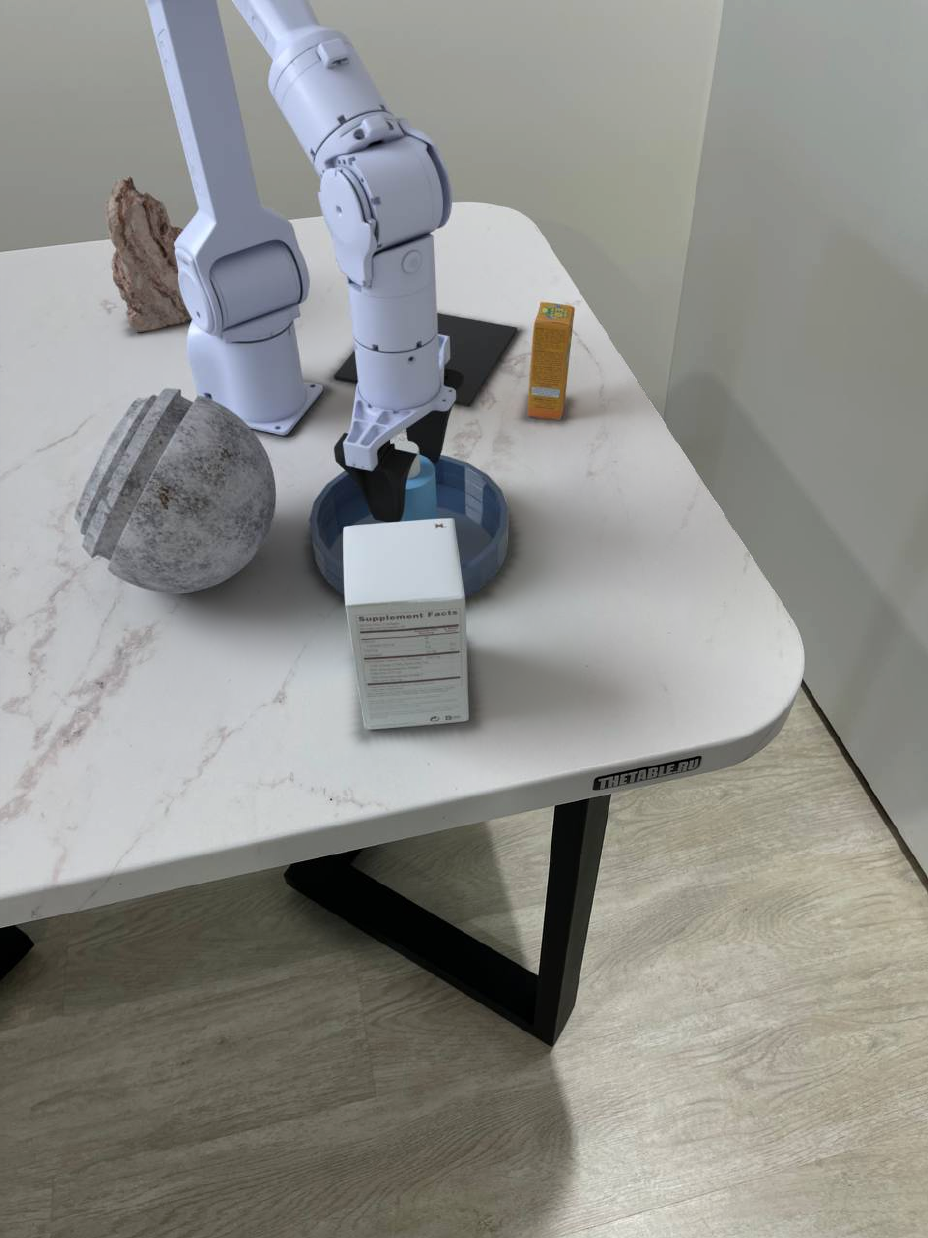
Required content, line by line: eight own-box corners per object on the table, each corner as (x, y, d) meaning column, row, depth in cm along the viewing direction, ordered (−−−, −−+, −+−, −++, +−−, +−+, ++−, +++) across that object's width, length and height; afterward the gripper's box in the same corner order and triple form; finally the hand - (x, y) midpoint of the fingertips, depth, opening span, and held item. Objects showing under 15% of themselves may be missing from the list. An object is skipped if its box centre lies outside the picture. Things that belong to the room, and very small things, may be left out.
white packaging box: (360, 652, 74) (341, 522, 65) (461, 644, 74) (457, 513, 65) (361, 733, 69) (341, 605, 60) (470, 725, 69) (467, 595, 60)
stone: (94, 202, 93) (204, 191, 95) (87, 163, 97) (192, 153, 100) (125, 337, 104) (223, 324, 107) (117, 296, 109) (211, 285, 111)
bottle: (375, 550, 81) (364, 460, 74) (396, 516, 84) (388, 426, 77) (426, 563, 80) (420, 473, 73) (446, 527, 83) (442, 437, 76)
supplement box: (563, 421, 93) (570, 323, 85) (526, 417, 93) (529, 320, 86) (568, 400, 95) (575, 303, 88) (532, 397, 95) (535, 300, 88)
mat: (334, 379, 98) (333, 375, 98) (391, 307, 107) (391, 304, 107) (469, 406, 95) (469, 403, 94) (517, 330, 103) (517, 327, 103)
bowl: (280, 583, 79) (274, 555, 77) (363, 464, 89) (360, 436, 87) (467, 633, 75) (466, 605, 73) (533, 502, 85) (534, 474, 83)
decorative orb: (145, 497, 86) (96, 341, 75) (310, 513, 85) (283, 356, 74) (72, 623, 76) (3, 465, 65) (257, 644, 75) (217, 485, 64)
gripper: (408, 400, 62) (419, 561, 72) (487, 287, 72) (488, 443, 81) (305, 379, 64) (330, 539, 74) (396, 272, 73) (407, 426, 83)
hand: (407, 488), depth 78 cm, fingers open, 7 cm apart
